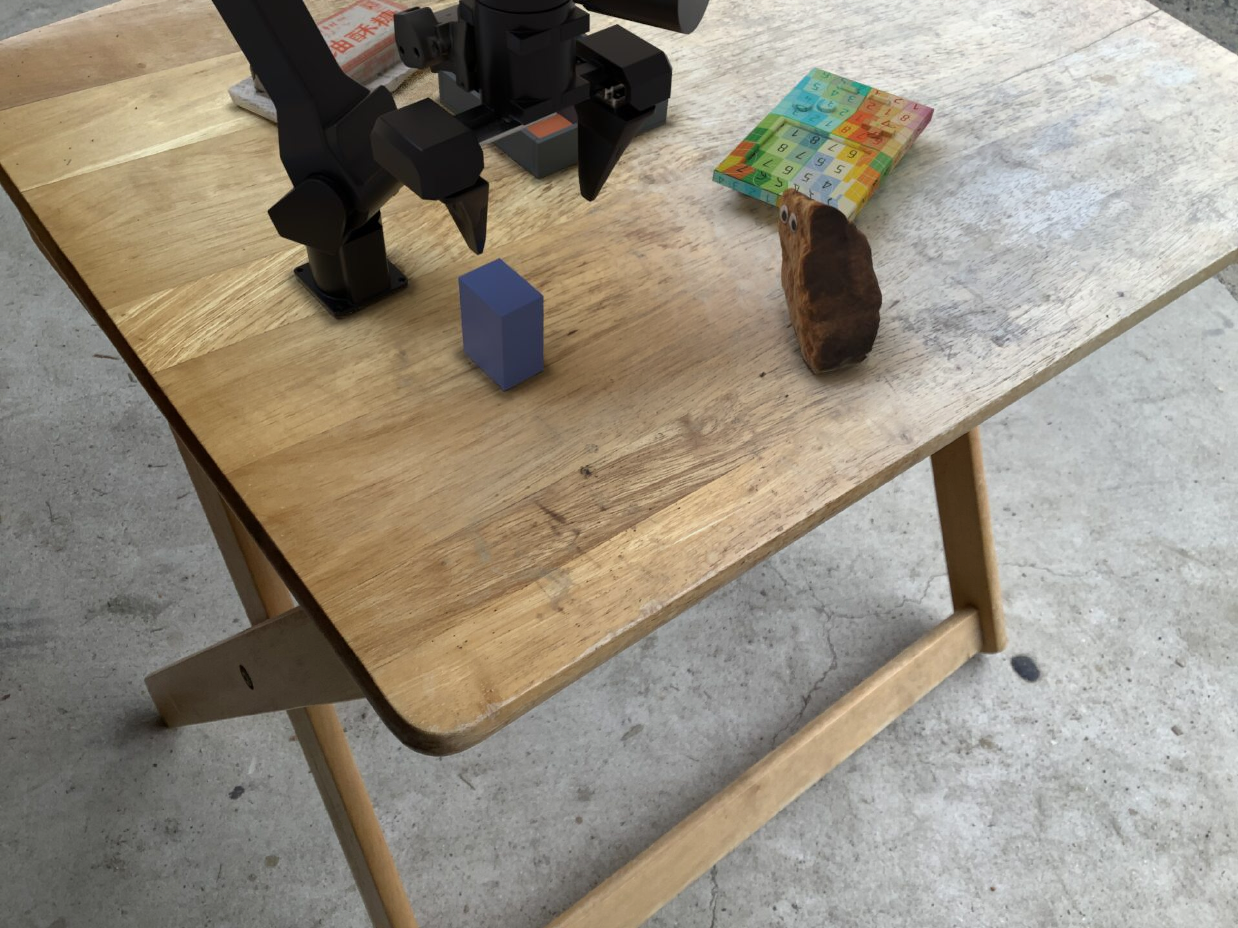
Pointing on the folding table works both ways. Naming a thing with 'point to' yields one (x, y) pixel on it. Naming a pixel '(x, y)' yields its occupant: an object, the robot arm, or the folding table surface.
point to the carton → (502, 323)
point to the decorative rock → (827, 283)
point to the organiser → (536, 130)
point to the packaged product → (346, 53)
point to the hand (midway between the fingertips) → (533, 224)
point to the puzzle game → (825, 143)
